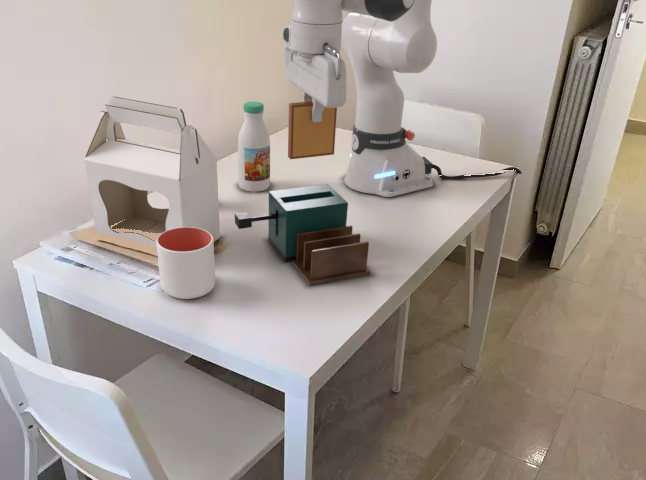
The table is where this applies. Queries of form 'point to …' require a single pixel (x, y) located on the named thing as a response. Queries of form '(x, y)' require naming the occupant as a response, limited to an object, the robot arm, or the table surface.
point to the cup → (186, 262)
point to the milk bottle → (253, 150)
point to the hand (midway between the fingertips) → (312, 118)
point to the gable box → (150, 174)
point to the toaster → (303, 215)
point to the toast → (310, 131)
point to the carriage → (251, 219)
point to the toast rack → (331, 255)
